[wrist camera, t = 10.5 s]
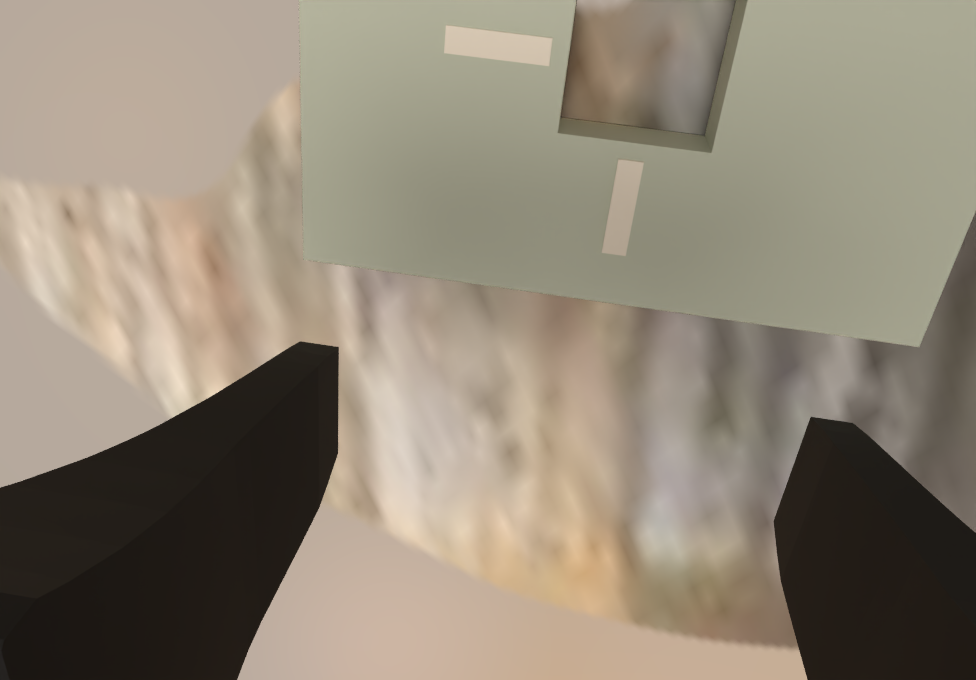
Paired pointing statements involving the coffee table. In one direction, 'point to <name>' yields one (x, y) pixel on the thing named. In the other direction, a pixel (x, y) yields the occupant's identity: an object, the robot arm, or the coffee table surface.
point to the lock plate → (650, 161)
